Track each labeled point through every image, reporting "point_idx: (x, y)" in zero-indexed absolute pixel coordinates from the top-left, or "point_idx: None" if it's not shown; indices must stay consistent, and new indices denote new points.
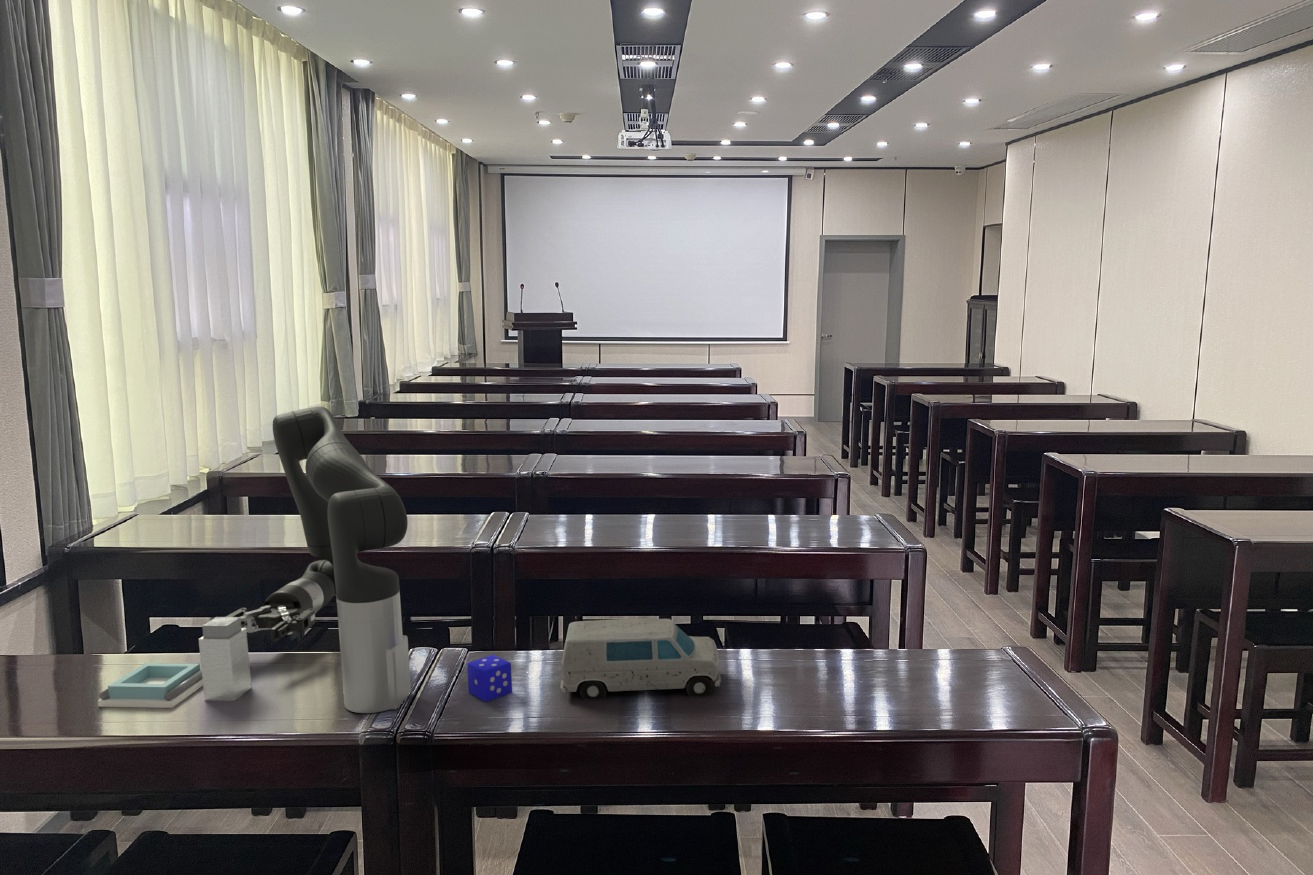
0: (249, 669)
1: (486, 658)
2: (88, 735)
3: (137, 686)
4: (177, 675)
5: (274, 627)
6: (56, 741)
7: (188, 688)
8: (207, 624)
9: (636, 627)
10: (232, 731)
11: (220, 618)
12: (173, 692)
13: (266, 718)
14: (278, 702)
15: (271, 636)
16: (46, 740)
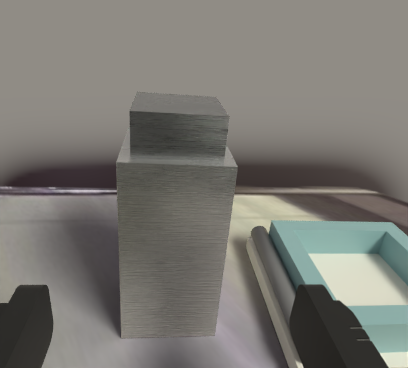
0: (120, 291)
1: None
2: (289, 194)
3: (331, 221)
4: (305, 260)
5: (26, 299)
6: (312, 187)
7: (268, 281)
8: (206, 98)
9: None
10: (80, 199)
11: (201, 111)
12: (256, 234)
13: (30, 224)
14: (15, 271)
15: (48, 310)
16: (327, 188)
